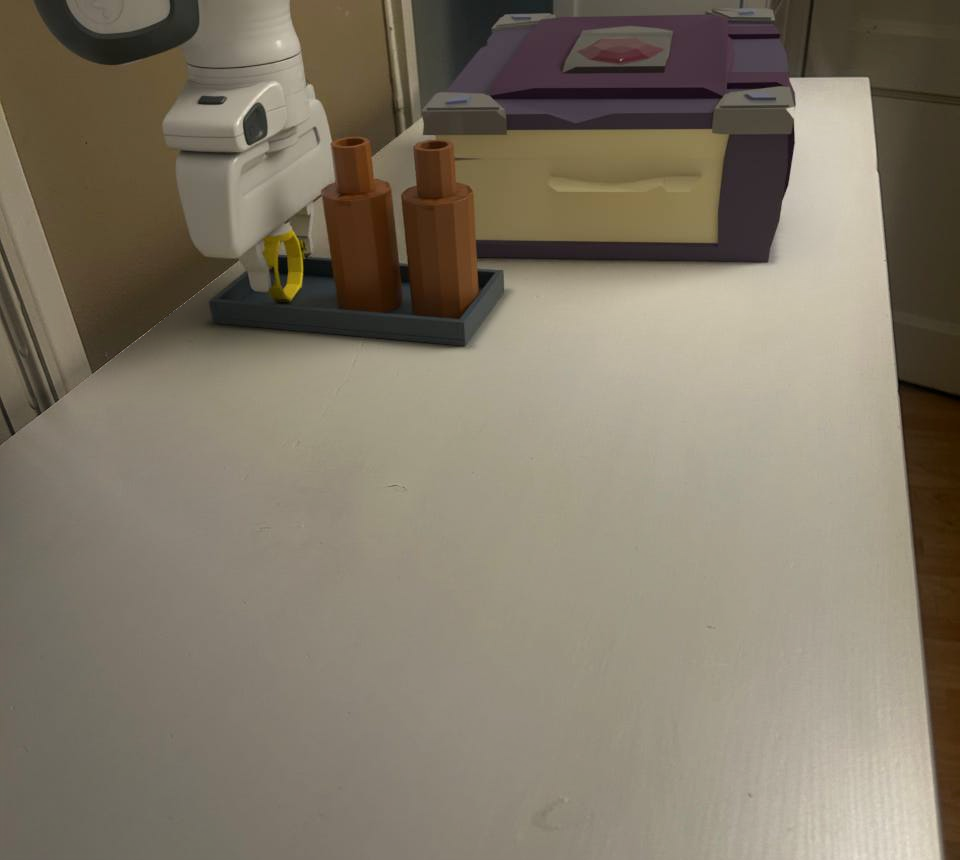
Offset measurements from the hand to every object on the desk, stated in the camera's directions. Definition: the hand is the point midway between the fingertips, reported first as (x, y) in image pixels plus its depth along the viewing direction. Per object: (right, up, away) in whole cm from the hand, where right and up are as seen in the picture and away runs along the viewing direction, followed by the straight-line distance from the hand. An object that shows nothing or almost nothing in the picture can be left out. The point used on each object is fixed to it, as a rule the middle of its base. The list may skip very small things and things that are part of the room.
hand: (283, 272), depth 86 cm
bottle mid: (+8, -3, 0) cm, 8 cm away
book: (+33, +17, +21) cm, 43 cm away
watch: (0, -2, +2) cm, 2 cm away
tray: (+7, -3, 0) cm, 7 cm away
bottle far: (+14, -4, -2) cm, 15 cm away
